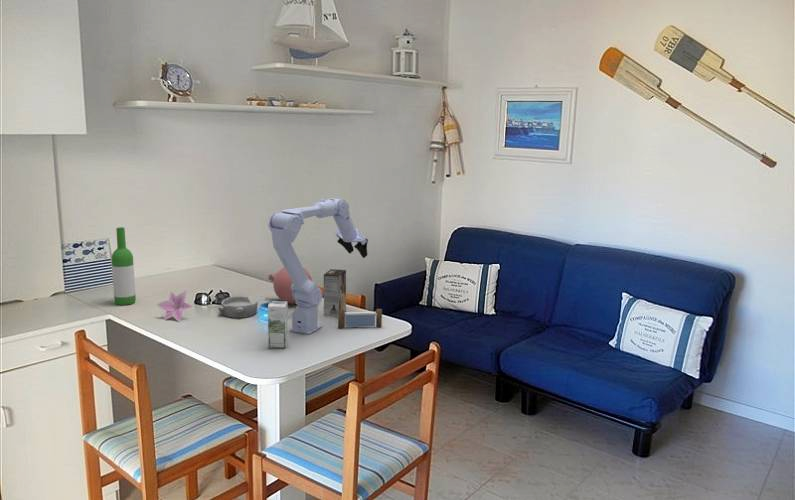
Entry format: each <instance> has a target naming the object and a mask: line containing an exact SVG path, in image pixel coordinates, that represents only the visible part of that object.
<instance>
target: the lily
mask: <svg viewBox="0 0 795 500" xmlns="http://www.w3.org/2000/svg"><path fill="white" fill-rule="evenodd" d="M187 295H188V290H187V289H186V290H184V291H182V292H180V293H178V294H177V295H176V294H175V293H173V292H172V291H169V294H168V300H167V299H166V300H164V301H160V302H159V303H157V304H156V307H158V308H159V309H161V310H163V311H166V312H165V314H164V317H163V320H164V321H166V320H168V319H170V318H171V317H173V318H174V319H175V320H176V321H177V322H178V323H182V320H183V311H186V310H189V309H192V308H193V305H191V304H189V303H187V302H185V301H186V298H187Z"/></svg>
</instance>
